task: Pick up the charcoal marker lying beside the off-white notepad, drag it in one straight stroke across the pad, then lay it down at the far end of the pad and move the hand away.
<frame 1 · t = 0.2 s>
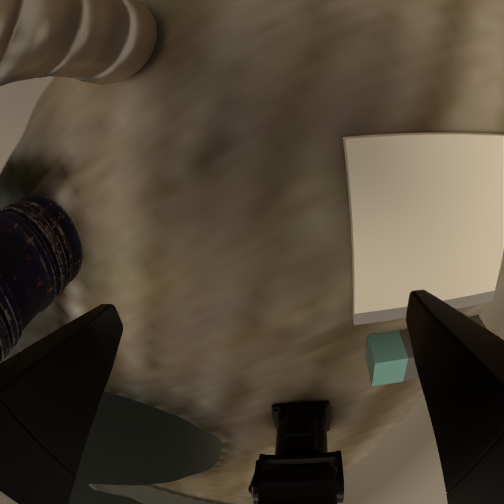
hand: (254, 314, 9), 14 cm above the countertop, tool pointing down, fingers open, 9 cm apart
notepad: (435, 229, 22), on the countertop
storage jar: (45, 240, 26), on the countertop
plastic bottle: (126, 42, 18), on the countertop
marker: (424, 338, 26), on the countertop
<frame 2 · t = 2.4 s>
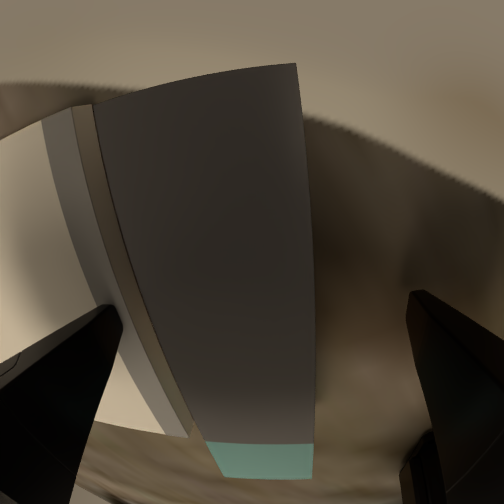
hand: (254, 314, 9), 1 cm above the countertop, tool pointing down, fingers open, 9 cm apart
notepad: (17, 304, 12), on the countertop
marker: (257, 292, 10), on the countertop
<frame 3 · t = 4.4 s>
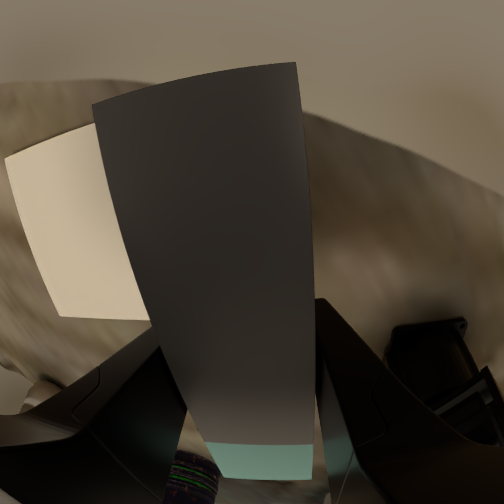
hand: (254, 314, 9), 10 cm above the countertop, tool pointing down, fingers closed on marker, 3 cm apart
notepad: (105, 227, 20), on the countertop
storage jar: (186, 463, 36), on the countertop
plastic bottle: (59, 390, 32), on the countertop
marker: (257, 292, 10), point 9 cm above the countertop, touching gripper
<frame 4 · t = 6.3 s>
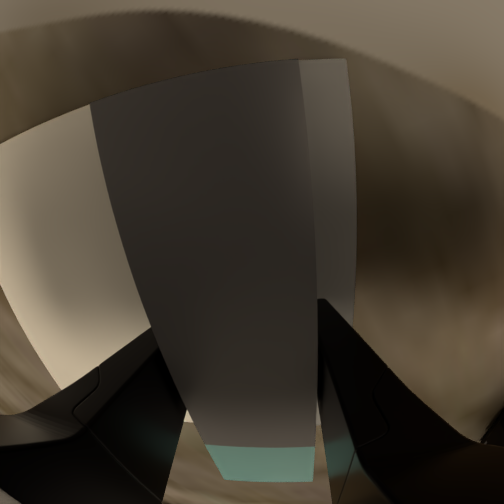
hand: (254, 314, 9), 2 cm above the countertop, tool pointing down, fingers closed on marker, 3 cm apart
notepad: (142, 294, 11), on the countertop
marker: (257, 293, 10), point 1 cm above the countertop, touching gripper, notepad
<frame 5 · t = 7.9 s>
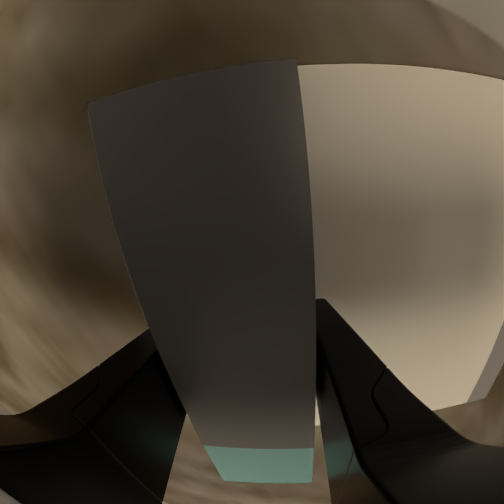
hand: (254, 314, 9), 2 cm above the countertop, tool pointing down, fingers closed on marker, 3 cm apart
notepad: (358, 286, 10), on the countertop
marker: (257, 294, 10), point 1 cm above the countertop, touching gripper
when the fingers open (3 cm above the countertop, at t = 9.3 s): marker drops 2 cm, resting on notepad.
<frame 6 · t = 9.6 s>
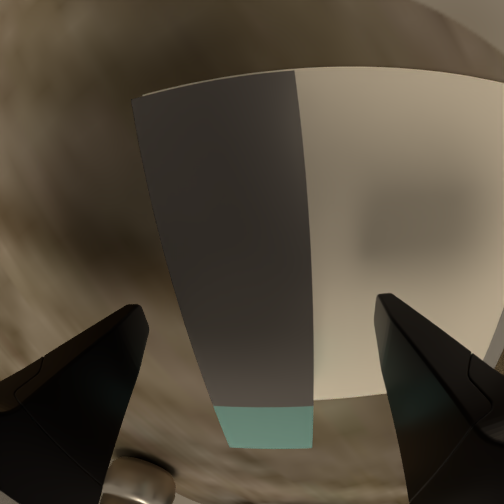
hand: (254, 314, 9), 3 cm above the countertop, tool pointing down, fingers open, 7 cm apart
notepad: (381, 261, 11), on the countertop
plastic bottle: (147, 463, 23), on the countertop
marker: (261, 268, 11), point 1 cm above the countertop, touching notepad
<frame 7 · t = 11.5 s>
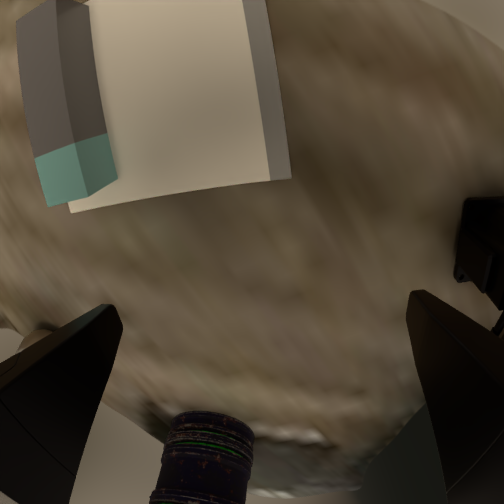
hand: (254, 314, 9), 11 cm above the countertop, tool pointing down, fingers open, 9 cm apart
notepad: (148, 82, 16), on the countertop
storage jar: (212, 431, 32), on the countertop
plastic bottle: (58, 343, 28), on the countertop
marker: (78, 95, 16), point 1 cm above the countertop, touching notepad
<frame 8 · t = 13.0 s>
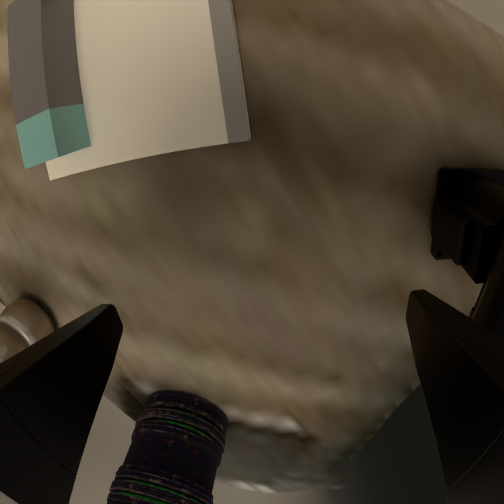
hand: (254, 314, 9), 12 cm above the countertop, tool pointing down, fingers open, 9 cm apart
notepad: (122, 57, 16), on the countertop
storage jar: (186, 414, 32), on the countertop
plastic bottle: (39, 315, 28), on the countertop
marker: (60, 71, 16), point 1 cm above the countertop, touching notepad
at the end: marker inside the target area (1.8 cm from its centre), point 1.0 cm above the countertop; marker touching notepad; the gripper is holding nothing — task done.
